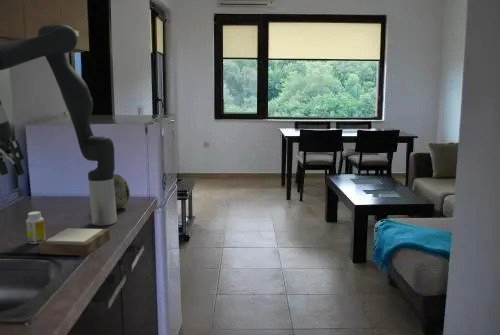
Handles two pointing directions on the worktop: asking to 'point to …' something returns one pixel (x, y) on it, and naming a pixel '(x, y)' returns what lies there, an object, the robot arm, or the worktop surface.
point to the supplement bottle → (35, 228)
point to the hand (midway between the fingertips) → (12, 174)
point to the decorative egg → (121, 191)
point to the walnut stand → (74, 241)
